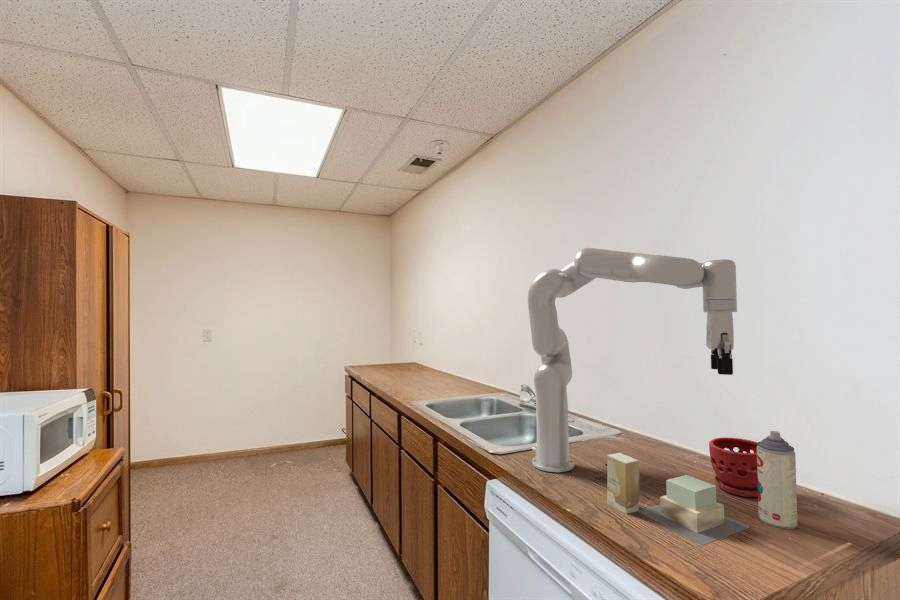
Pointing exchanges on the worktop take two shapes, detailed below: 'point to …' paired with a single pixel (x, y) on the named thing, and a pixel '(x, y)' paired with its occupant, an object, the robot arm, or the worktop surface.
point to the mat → (701, 537)
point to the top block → (691, 492)
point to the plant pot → (735, 465)
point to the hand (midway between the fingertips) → (721, 371)
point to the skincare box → (623, 482)
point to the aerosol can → (777, 482)
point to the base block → (692, 515)
